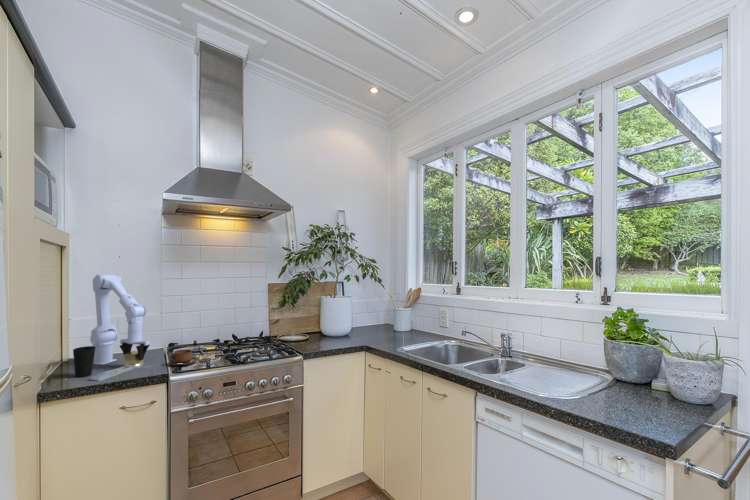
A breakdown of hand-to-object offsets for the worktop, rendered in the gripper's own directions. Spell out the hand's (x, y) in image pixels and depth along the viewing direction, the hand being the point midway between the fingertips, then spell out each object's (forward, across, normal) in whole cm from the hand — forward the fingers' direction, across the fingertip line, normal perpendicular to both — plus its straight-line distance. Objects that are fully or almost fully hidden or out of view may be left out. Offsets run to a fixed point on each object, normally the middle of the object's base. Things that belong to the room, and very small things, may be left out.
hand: (134, 359), depth 165 cm
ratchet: (+4, 0, +8) cm, 9 cm away
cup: (+4, +11, +15) cm, 19 cm away
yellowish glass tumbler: (+2, 0, 0) cm, 2 cm away
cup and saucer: (+4, -19, -10) cm, 22 cm away
